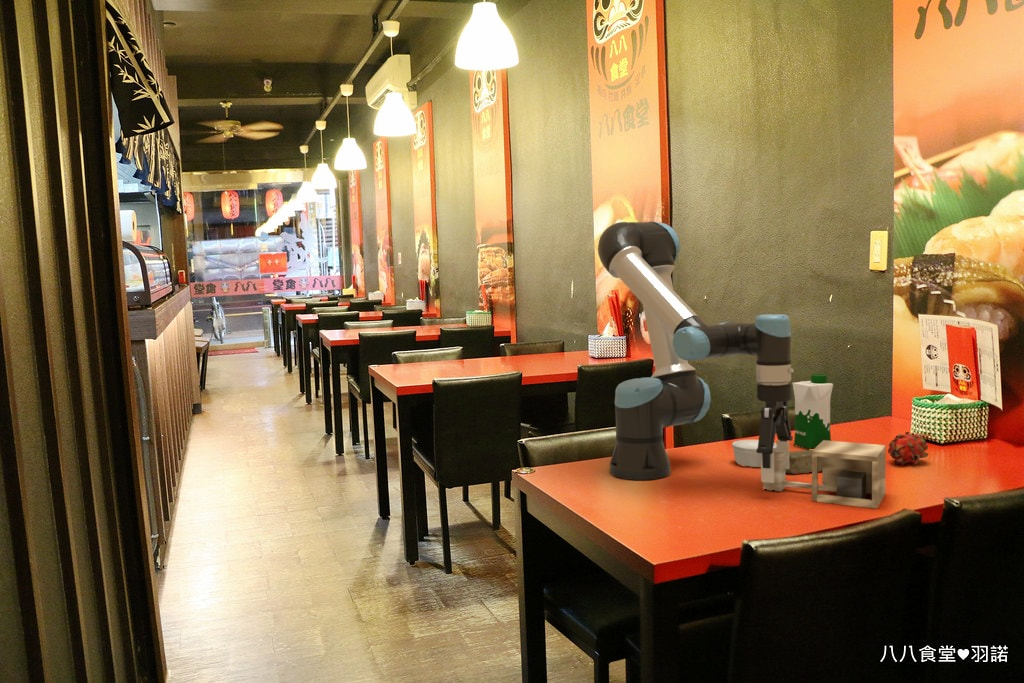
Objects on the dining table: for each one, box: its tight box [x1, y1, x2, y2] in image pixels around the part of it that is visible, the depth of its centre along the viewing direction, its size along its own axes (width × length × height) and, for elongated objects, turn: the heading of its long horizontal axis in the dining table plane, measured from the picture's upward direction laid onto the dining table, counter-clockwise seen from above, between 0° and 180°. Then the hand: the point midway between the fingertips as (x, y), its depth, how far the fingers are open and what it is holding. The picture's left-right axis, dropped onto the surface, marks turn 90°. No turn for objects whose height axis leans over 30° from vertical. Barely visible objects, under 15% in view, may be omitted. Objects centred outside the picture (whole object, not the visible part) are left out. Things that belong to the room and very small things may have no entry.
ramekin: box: [731, 439, 777, 468], centre depth 210 cm, size 11×11×5 cm
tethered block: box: [762, 451, 867, 499], centre depth 181 cm, size 21×6×8 cm, turn 58°
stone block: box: [785, 449, 823, 475], centre depth 201 cm, size 6×12×5 cm, turn 102°
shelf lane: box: [811, 440, 887, 510], centre depth 177 cm, size 13×12×11 cm
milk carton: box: [791, 373, 834, 450], centre depth 226 cm, size 9×9×20 cm
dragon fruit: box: [887, 431, 929, 466], centre depth 205 cm, size 8×8×12 cm
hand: (775, 475), depth 186 cm, fingers open, 13 cm apart
